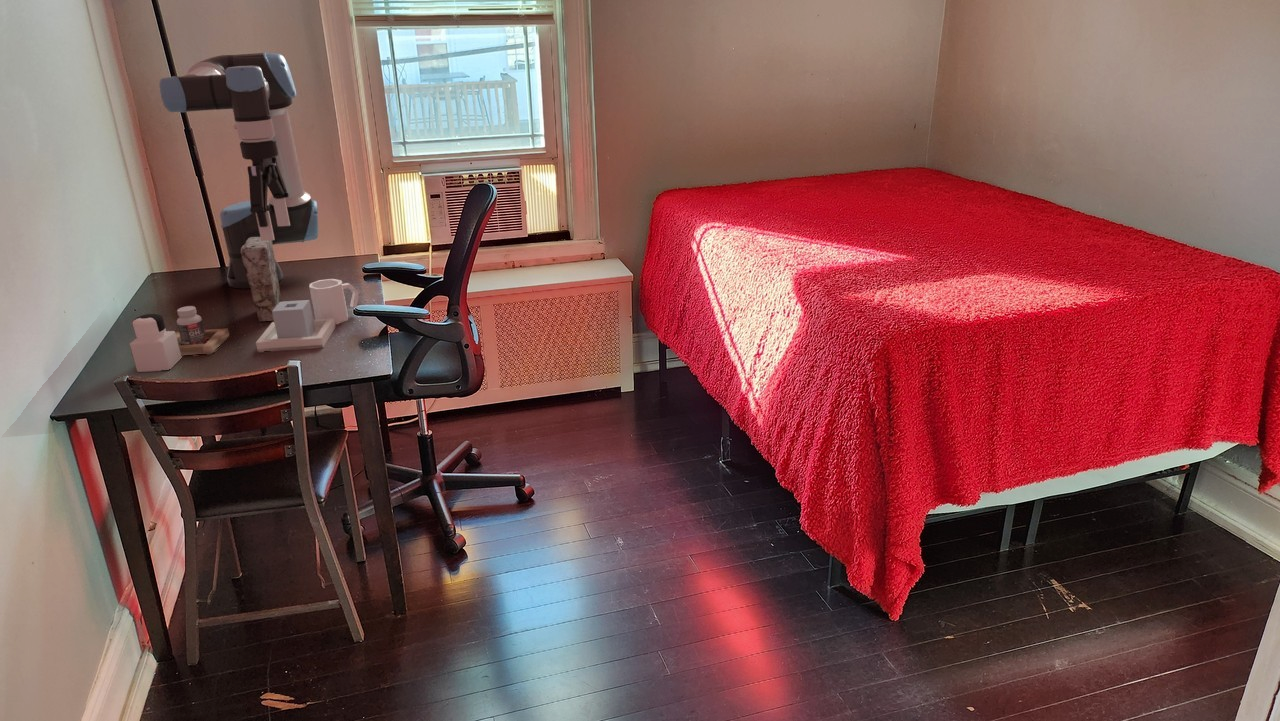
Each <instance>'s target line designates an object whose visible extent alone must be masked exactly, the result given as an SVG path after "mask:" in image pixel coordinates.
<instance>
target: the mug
mask: <svg viewBox="0 0 1280 721" xmlns="http://www.w3.org/2000/svg"><path fill="white" fill-rule="evenodd" d="M308 287H309V292H310V298H311V303H312V308H313V312H314V314H313V315H314V318H315V319H327V318H334V322H335V326H336V325H339V324H341V323H345V322H346V321H347V322H348V320H349V313H348V309H347V308H348V307H347V302H346V298H345V292H344V290H345V289H349V291H351V292H352V295H351V299H350V305H349V306H350V307H351V308H352V309H353V308H355V307H358V301H359V296H360V291H359V290H358V289H356V288H355V287H354V286H353V285H352V284H350V283H349V282H346V283H343V281H342V280H341V279H337V278H336V279H335V278H328V279H327V278H326V279H319V280H316V281H314V282H311V283H309V285H308ZM355 309H356V308H355Z"/></svg>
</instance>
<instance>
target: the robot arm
mask: <svg viewBox="0 0 1280 721" xmlns="http://www.w3.org/2000/svg"><path fill="white" fill-rule="evenodd" d="M296 90H297V89H296V86H295V83H294V79H293V77H292V73H291V70H290V67H289V64H288V62H287V60H286V58H285V57H284V56H283V54H280V53H276V52H275V53H273V52H272V53H270V52H269V53H268V52H258V53H245V54H224V55H223V54H222V55H217V56H212V57H209V58H206V59H203V60H201V61H199V62H196V63H194V64H193V65H191V66H190V68H188V70H187V73H186V74H185V75H182V76H176V75H172V76H168V77H162V78H161V79H160V80H159V92H160V97H161V100H162V105H163V106H164V108H165V109H166V110H167V111H168V112H169V113H170V112H171V113H187V112H188V113H189V112H202V111H212V110H214V111H215V110H217V111H218V110H232V112H233V117H234V122H235V123H234V125H233V128H234V129H235V130H236V131H237V137H238V139H239V140H241V141H240V142H239V147H240V151H241V156H242V158H243V159H244V160H249V161H250V160H251V163H252V166H251V165H249V166H247V174H248V182H249V184H248V186H249V200H245V201H241V202H237V203H234V204H231V205H228V206H226V207H224V208H223V209H222V210H221V211H220V214H219V218H220V224H221V225H220V226H221V228H222V231H223V232H222V233H223V236H224V241H225V245H226V249H227V254H228V259H229V260H228V269H227V277H226V278H227V283H228V286H229V287H231V288H235V289H251V288H250V285H249V281H248V278H247V275H246V271H245V268H244V265H243V261H242V256H241V247H242V246H243V245H245V243H246V240H248V238H250V237H261V241H270V240H272V244H273V246H274V245H275V246H276V245H283V244H292V243H293V244H294V243H305V242H311V241H314V240H317V239H318V237H319V216H318V215H319V213H318V201H317V200H313V199H312V197H311V194H310V193H308V192H307V191H305V189H304V185H303V184H304V183H303V178H302V174H301V168H300V164H299V163H300V162H299V158H298V155H297V149H296V143H295V140H294V133H293V129H292V123H291V119H290V114H289V109H290V108H291V107H292V106H293V104H294V103H293V99H295V98H296V97H297V91H296ZM268 189H269V190H268ZM269 191H270V193H271V195H270V197H268V192H269ZM275 264H276V271H277V277H278V282H281V281H282V279H283V278H284V275H283V270H282V268H281V267H280V265H279V263H278V261H277V259H275Z"/></svg>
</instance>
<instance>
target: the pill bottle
mask: <svg viewBox="0 0 1280 721" xmlns="http://www.w3.org/2000/svg"><path fill="white" fill-rule="evenodd" d="M197 311H198V310H197V308H196V307H195V305H187V306H183V307H180V308H179V307H178V309H177V310H176V313H177V316H178V318H177V320H176V325H177V330H178V332H179V333H180V337H181V341H182V345H195V344H206V343H207V341H208V340H207V339H206V335H205V331H204V330H205V327H204V326H205V325H204V324H203V319H202V316H201V315H199V314H197Z"/></svg>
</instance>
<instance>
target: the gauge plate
mask: <svg viewBox="0 0 1280 721" xmlns="http://www.w3.org/2000/svg"><path fill="white" fill-rule="evenodd" d="M204 331H205V335H206V339H209V340H207V343H206V344H195V345H180V344H182V341H181V337H180V333H179V331H176V332H175V334H176V337H177V341H178V345H179V349H180V352H181V355H183V354H197V353H213V352H214V351H215V349H216V348H217V347H219V346H220V344H221V343H222V342H223V341H224V340H225V339H226V338H227V337H228V336H229V335H230V332H229V328H214V329H212V328H211V329H204ZM229 337H230V336H229ZM229 337H228V338H229ZM228 338H227V339H228ZM227 339H226V340H227ZM226 340H225V341H226ZM220 347H221V346H220ZM220 347H219V348H220ZM215 352H216V351H215Z"/></svg>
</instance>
